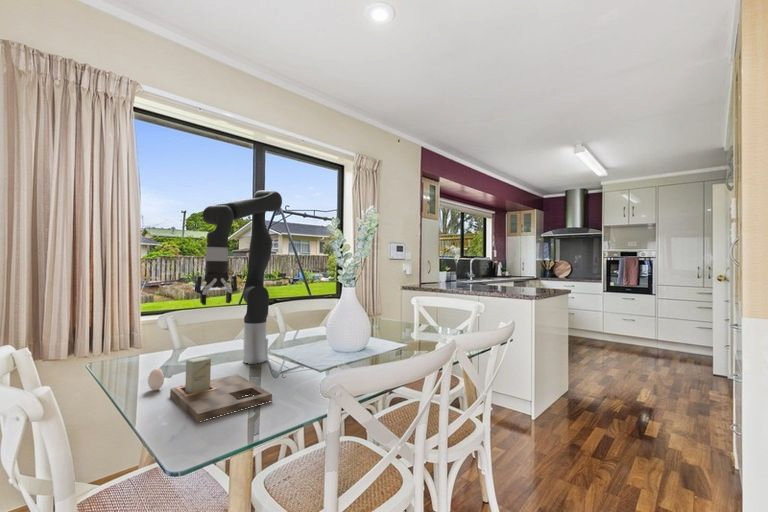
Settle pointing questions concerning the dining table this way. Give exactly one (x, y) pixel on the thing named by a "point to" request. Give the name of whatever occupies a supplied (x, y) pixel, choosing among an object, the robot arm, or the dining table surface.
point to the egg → (156, 379)
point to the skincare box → (197, 375)
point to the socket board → (220, 397)
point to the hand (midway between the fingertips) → (216, 303)
